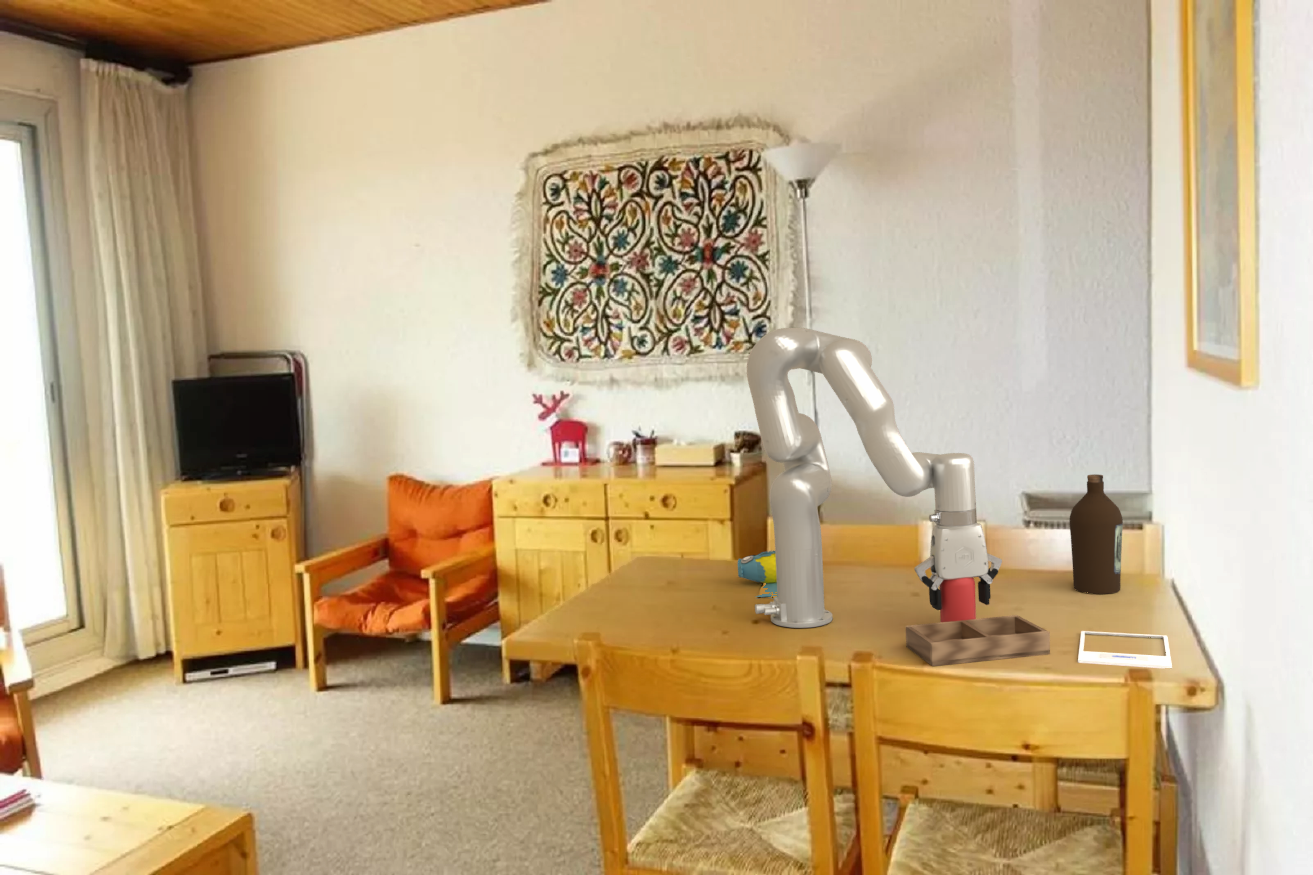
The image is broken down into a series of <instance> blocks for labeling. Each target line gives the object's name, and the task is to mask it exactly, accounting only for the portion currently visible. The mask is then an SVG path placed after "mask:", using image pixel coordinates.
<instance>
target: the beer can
mask: <svg viewBox="0 0 1313 875" xmlns="http://www.w3.org/2000/svg"><path fill="white" fill-rule="evenodd" d="M974 578H975V577H973V578H960V579H955V580H943V581H942V583H941V584H940V586H939V590H941V605H942V609H941V610H939V612H940V616H939V617H940V618H939V619H940V623H941V622H951V621H961V620H971V619H977V614H976V612H977V610H976V608H977V607H976V604H977V602H976V581H975V579H974Z"/></svg>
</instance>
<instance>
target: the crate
mask: <svg viewBox="0 0 1313 875" xmlns="http://www.w3.org/2000/svg"><path fill="white" fill-rule="evenodd" d="M1050 633H1051V632H1050V631H1048V630H1046V629H1044V628H1043V627H1041V626H1039V625H1037V624H1035V623H1033V622H1031V621H1029V620H1027V619H1025V618H1023V617H1022V616H1019V615H1017V614H1012V615H1004V616H1003V615H1002V616H993V617H983V618H982V617H981V618H976V619H971V620H961V621H951V622H941V621H940V622H932V623H923V624H913V625H912V624H911V625H905V646H906V648H907V649H908V650H910V651H911V652H913V654H915V655H916V656H918V657H919V658H921V659H922V660H923V661H925V662H926V663H928V664H929V665H930V666H931V667H938V666H940V667H941V666H946V665H950V666H951V665H958V664H967V663H978V662H984V661H985V662H987V661H994V660H1005V659H1015V658H1016V659H1017V658H1025V657H1035V656H1043V655H1045V656H1046V655H1050V654H1051V642H1050V641H1051V640H1050V637H1051V636H1050Z"/></svg>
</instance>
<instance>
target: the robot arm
mask: <svg viewBox="0 0 1313 875" xmlns="http://www.w3.org/2000/svg"><path fill="white" fill-rule="evenodd" d="M872 365H873V357H872V354H871V351H870V350H869V347H867V345H866V344H864V343H863V342H861V341H860V340H857V339H854V338H849V337H848V338H847V337H844V336H840V335H836V334H831V333H828V332H823V331H819V330H815V329H810V328H807V327H782V328H781V327H780V328H777V329H774V330H771V331H770V332H768V333H766V334H765V335H763V336H762V337H761V338H760V339H759V340H758V341H757V342H756V343H755V344H754V345H753V347H752V348H751V350H750V353H749V355H748V358H747V362H746V377H747V383H748V388H749V391H750V395H751V399H752V402H753V407H754V412H755V417H756V421H757V425H758V430H759V435H760V438H761V442H762V447H763V449H764V452H765V454H766V455H767V457H768V458H769V459H770V460H771V461H774V462H776V463H781V464H783V467H784V470H783V471H781V472H780V473H779V474H778V475H776V477H775V479H773V481H772V483H771V486H770V489H769V505H770V509H771V514H772V516H771V517H772V522H773V533H774V535H773V536H774V551H775V553H776V576H777V597H775V598H773V601H770V602H769V603H765V604H764V603H760V604H759V603H757V604H754V611H755V614H756V615H759V614H763V615H765V616H767V615H768V616H770V621H771V622H772V623H773V624H774V625H777V626H780V627H785V628H791V629H794V628H795V629H805V628H806V629H808V628H815V627H821V626H825V625H827V624H829V623H831V622H832V621H833V613H832V612H831V611H829V610H828V609H825V593H824V588H825V587H824V565H823V562H824V561H823V543H822V542H823V541H822V528H821V521H820V518H819V517H820V515H819V511H818V507H819V506H821V505H823V504H824V503H825V502H826V501H827V499H828V498H829V497H830V494H831V492H832V489H833V488H832V487H833V486H832V485H833V483H832V477H831V476H832V475H831V471H830V466H829V463H828V459H827V458H828V457H827V454H826V450H825V446H824V442H823V438H822V435H821V432H820V429H819V427H818V425H817V423H816V422H815V421H814V420H813V419H812V418H811V417H810V416H809V415H806V414H804V413H800V411H799V410H798V405H797V401H796V397H795V393H794V390H793V387H792V385H791V383H790V380H789V377H788V373H790V371H791V370H799V369H802V370H805V371H806V370H807V371H811V372H814V373H819V374H822V375H823V377H824V378H825V380H826V381H827V383H828V384H829V386H830V388H831V389H832V391H833V392H834V394H835V395H836V397H837V398H838V400H839V401H840V402H841V404H842V406H843V407H844V408H845V410H846V412H847V413H848V415H849V416H850V418H851V419H852V421H853V423H854V425H855V428H856V431H857V434H858V435H859V438H860V440H861V443H862V445H863V448H864V450H865V453H866V454H867V456H868V458H869V461H871V463H872V465H873V466H874V468H875V469H876V471H877V473H878V474H879V476H880V477H881V479H882V480H883V481H884V483H885V484H886V486H887V487H888V488H889V489H890V490H891V491H892V493H895V494H896V495H898V496H901V497H905V498H910V497H914V496H917V495H919V494H920V493H921V492H924V491H926V490H928V489H934V490H933V491H934V506H935V509H934V512H933V513H932V514H929V515H928V520H929V522H934V523H935V525H933V526H932V531H931V540H930V549H929V550H930V551H929V553H930V556H929V557H928V558H927V559H925V560H923V561H922V562H921V563H919V564H917V565H916V566H915V567H914V571H915V573H916V575H917V577H918V578H919V580H920V581H921V582H922V583H923V584H924V585H925V586H926V587H927V588H928V594H929V604H930V605H931V607H932V608H933V609H934V610H937V611H940V610H941V609H942V605H941V590H940V584H941V583H942V581H943V580H955V579H960V578H978V579H979V581H978V582H977V591H978V592H977V593H978V602H980V603H982V604H984V605H986V606H987V605H990V600H991V598H992V596H991V595H992V594H991V584H993V582H994V581H993V580H994V579H995V578H996V576H997V575H998V574H999V570H1000V568H1001V565H1002V563H1003V559H1002V558H1000V557H997V556H995V555H993V554H990V553H988V550H987V543H986V538H985V533H984V528H983V526H982V524H981V523H978V521H977V500H976V478H975V462H974V461H975V460H974V458H973V457H972V455H970V454H968V453H964V452H962V453H961V452H951V453H949V452H948V453H941V454H939V453H928V452H921V451H920V452H919V451H918V452H917V451H916V452H914V451H913V452H912V451H911V449H910V448H909V447H908V445H907V443H906V442H905V440H904V438H903V437H902V435H901V433H900V431H899V428H898V425H897V423H896V416H895V404H894V401H893V399H892V397H891V396H890V394H889V393H888V391H887V390H886V388H885V387H884V385H883V384H882V382H881V381H880V379H879V378H878V376H877V375H876V373H875V371H873V369H872ZM989 562H991V565H990V566H989ZM929 568H930V572H931V575H930V576H929V577H928V576H927V573H926V571H927V570H929Z"/></svg>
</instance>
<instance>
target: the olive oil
mask: <svg viewBox="0 0 1313 875" xmlns="http://www.w3.org/2000/svg"><path fill="white" fill-rule="evenodd" d="M1104 486H1105V484H1104V475H1102V474H1096V473H1095V474H1088V475H1087V481H1086V491H1087V492H1086V493H1085V494H1084V496H1082V498H1081V499H1079V500H1078V502H1076V504H1075V505H1074V506H1073V507H1072V509H1071V511H1070V514H1069V531H1070V532H1069V534H1070V546H1071V559H1072V560H1071V561H1072V580H1073V583H1072V584H1073V589H1074V590H1075V589H1076V590H1075V591H1077V590H1078V591H1077V592H1079V591H1080V592H1079V593H1083V592H1086V593H1085V594H1089V593H1093V594H1092V595H1108V594H1110V595H1111V594H1115V593H1118V592H1120V591H1121V580H1122V579H1121V577H1122V576H1121V574H1122V573H1121V570H1122V548H1123V547H1122V544H1123V528H1124V527H1123V524H1124V523H1123V515H1122V512H1121V509H1119V507H1118V506H1117V504H1115V502H1113V501H1112V500H1111V498H1109V497H1108V495H1107V494H1105V492H1104V490H1105V487H1104ZM1087 592H1088V593H1087Z"/></svg>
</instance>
